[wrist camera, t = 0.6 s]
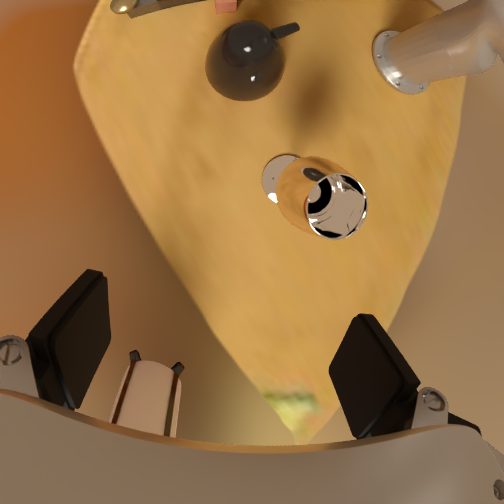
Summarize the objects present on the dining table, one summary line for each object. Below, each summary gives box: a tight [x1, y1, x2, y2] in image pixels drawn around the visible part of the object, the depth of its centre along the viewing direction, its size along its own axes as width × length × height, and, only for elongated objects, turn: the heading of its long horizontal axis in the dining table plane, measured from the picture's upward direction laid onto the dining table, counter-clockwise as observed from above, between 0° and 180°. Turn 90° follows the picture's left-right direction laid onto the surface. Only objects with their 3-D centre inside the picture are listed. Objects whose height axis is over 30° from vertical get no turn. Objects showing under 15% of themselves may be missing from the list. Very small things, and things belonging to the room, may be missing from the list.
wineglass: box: [262, 155, 368, 240], centre depth 30 cm, size 8×8×20 cm
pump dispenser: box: [205, 20, 300, 101], centre depth 26 cm, size 10×10×15 cm
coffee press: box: [109, 350, 184, 438], centre depth 37 cm, size 17×16×30 cm
